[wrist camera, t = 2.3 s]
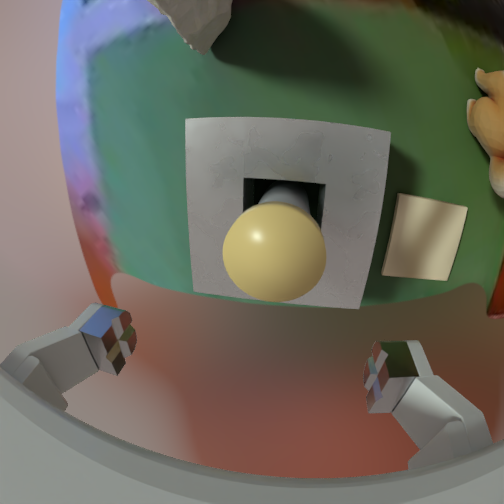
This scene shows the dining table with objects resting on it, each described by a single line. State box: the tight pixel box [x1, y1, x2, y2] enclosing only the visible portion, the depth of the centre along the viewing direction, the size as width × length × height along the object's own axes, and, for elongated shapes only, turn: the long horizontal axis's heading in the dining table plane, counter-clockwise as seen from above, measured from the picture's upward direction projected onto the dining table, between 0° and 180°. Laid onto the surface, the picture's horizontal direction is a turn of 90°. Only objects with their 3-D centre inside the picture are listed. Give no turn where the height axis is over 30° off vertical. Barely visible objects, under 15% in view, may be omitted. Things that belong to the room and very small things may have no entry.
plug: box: [223, 180, 327, 302], centre depth 19 cm, size 5×5×11 cm
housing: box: [186, 117, 391, 309], centre depth 21 cm, size 14×14×5 cm
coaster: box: [381, 193, 468, 281], centre depth 22 cm, size 8×8×1 cm
